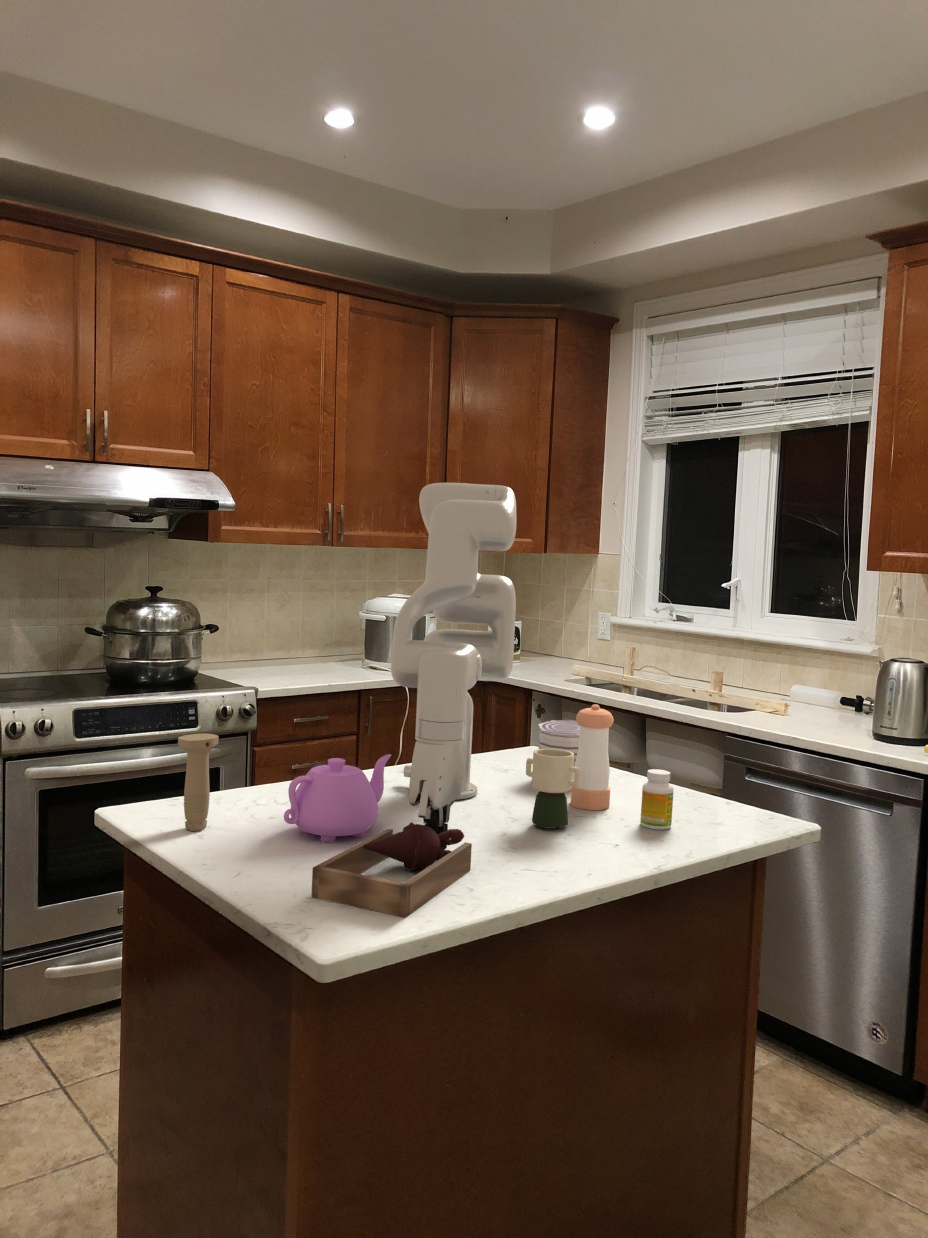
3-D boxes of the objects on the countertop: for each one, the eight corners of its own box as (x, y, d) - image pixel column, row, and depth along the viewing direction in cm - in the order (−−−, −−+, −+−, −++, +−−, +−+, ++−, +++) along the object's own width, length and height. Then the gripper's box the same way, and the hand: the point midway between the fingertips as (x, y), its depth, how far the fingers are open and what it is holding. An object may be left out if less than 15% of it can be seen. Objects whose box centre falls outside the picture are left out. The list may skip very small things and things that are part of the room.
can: (600, 782, 199) (604, 725, 199) (572, 791, 191) (575, 732, 190) (554, 772, 206) (557, 717, 206) (524, 781, 198) (528, 723, 197)
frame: (311, 897, 127) (312, 867, 127) (386, 854, 146) (387, 828, 146) (405, 917, 121) (407, 887, 121) (470, 870, 141) (471, 843, 140)
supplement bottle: (671, 831, 166) (674, 776, 165) (639, 828, 167) (643, 773, 166) (671, 823, 171) (674, 769, 170) (640, 820, 172) (643, 767, 171)
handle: (169, 829, 153) (172, 737, 152) (203, 822, 158) (206, 732, 157) (187, 836, 150) (190, 742, 149) (221, 828, 155) (224, 737, 154)
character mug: (587, 829, 165) (592, 755, 164) (565, 838, 159) (570, 761, 158) (534, 816, 171) (538, 744, 170) (512, 824, 166) (515, 750, 165)
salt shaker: (609, 802, 184) (615, 703, 182) (608, 812, 177) (614, 709, 175) (571, 798, 185) (577, 700, 184) (569, 808, 178) (575, 706, 177)
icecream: (375, 838, 133) (474, 840, 138) (363, 811, 139) (458, 814, 145) (365, 881, 135) (463, 881, 140) (354, 852, 141) (448, 854, 147)
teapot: (365, 813, 168) (368, 745, 167) (413, 834, 157) (416, 761, 156) (262, 830, 155) (265, 756, 155) (307, 854, 145) (309, 774, 144)
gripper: (438, 719, 152) (433, 832, 154) (395, 735, 139) (390, 859, 140) (482, 725, 150) (476, 840, 151) (442, 741, 136) (436, 867, 137)
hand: (435, 848), depth 146 cm, fingers closed
